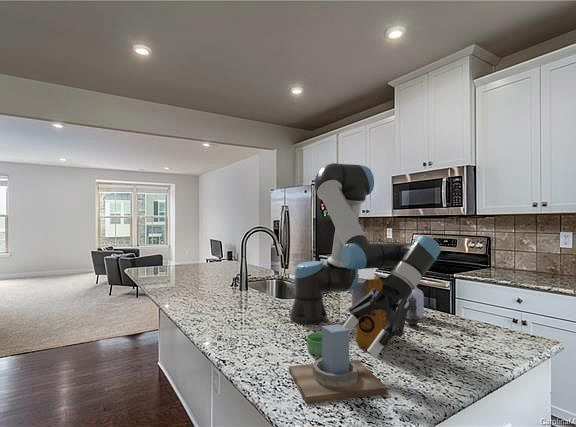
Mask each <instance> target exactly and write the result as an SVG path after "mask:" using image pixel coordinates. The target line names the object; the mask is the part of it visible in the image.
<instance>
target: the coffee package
mask: <svg viewBox="0 0 576 427" xmlns="http://www.w3.org/2000/svg"><path fill="white" fill-rule="evenodd" d="M365 279H366V281H365V282H364V283H365V284H368V288H367V290H366V293H365V296H366V295H367V294H368V293H369V292H370V291H371V290H372V289H373V288H374V289H375V290H376V291H377V292H380V291H381V290H382V283H383V281H382V279H381V277H380V276H379V275H375V276H374V278H372V279H371V278H370V279H369V278H365ZM375 303H376V302H375ZM384 327H386V311H384V310H380V309H379V310H374V311H372V312H370V313H368V314H366V315H364V316H362V317H360V318H359V321H358V323H357V324H356V336H355V337H356V338H355V342H356V345H357V346H358V347H360V348H364V349H367V350H368V348H369V347H370V346H371V344H372V343H373V342H374V340H375V339H376V337H377V336H378V335H379V333H380V332H381V330H382V329H384V330H385V328H384ZM385 331H386V330H385ZM390 341H391V340H390ZM390 341H389V342H388V344H387V345H386V346H385V347H388V346H389V344H390ZM385 347H384V348H385Z"/></svg>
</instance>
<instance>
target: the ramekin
mask: <svg viewBox="0 0 576 427" xmlns="http://www.w3.org/2000/svg"><path fill="white" fill-rule="evenodd" d="M305 340H306V342H307V351H308V353H310V354H311V355H314V356H321V357H322V332H311V333H309V334H307V335H306V337H305Z"/></svg>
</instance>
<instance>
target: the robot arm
mask: <svg viewBox="0 0 576 427" xmlns="http://www.w3.org/2000/svg"><path fill="white" fill-rule="evenodd" d="M313 185H314V186H313V187H314V191H315V194H316V195H317V197H318V199H320V200H321V201H323V204H324V206H325V208H326V211H327V213H328V215H329V216H330V219H331V221H332V223H333V226H334V228H335V229H334V230H335V231H334V235H333V241H332V242H333V244H332V250H331V255H330V256H329V257H328V258H327V259H326V260H327V261H326V264H324V262H322V261H320V260H315V261H314V260H313V261H312V260H311V261H305V262H300V263H298V264H296V266H295V268H294V275H293V276H294V301H293V303H292V304H293V305H292V308H291V310H290V314H289V316H290V317H289V318H290V321H292V322H294V323H297V324H302V325H318V324H319V325H320V324H323V323H325V322H327V321H328V315H327V314H328V313H327V311H326V307H325V304H324V300H323V297H324V294H327V293H340V292H341V293H345V292H349V291H352V289H354V288H355V287H356V285H357V283H358V279H360V278H359V277H360V276H359V270H363V269H369V270H370V269H389V268H390V269H391V271H390V274H388V275H387V276H386V278H385V279H384V281H382V290H381V291H380V292H377V291H376V290H375V289H374V288H373V289H372V290H371V291H370V292H369V293H368V294H367V295H366V296H364V297H363V298H362V299H360V300H359V301H358V302H356V303H355V304H354V305H352V304H351V306H350V307H349V308H348V309H347V310H348V311H349V313H350V315H349V316H348V317H347V319H346V320H345V321H344V324H343V325H342V326H343V327H345V328H347V329H349V334H351V332H352V331H353V329H354V328H355V327H356V326H357V323H358V321H359V318H360V317H362V316H364V315H366V314H368V313H370V312H372V311H374V310H379V309H380V310H384V311H386V327H384V328H385V330H386V331H385V330H384V329H382V330H381V332H380V333H379V335H378V336H377V337H376V339H375V340H374V342H373V343H372V344H371V346H370V347H369V348H368V349H367V350H366V351H367V352H368V353H369V354H370V355H371V356H372V357H373V358H374V359H376V358H377V357H378V356H379V354H380V353H381V351H382V350H383V348H385V346H386V345H387V344H388V342H389V341H391V340H392V338H395V337H398V338H401V337H403V334H404V330H405V325H406V316H407V312H408V310H409V308H410V306H411V304H410V303H409V302H408V301H407V299H408V297H409V296H410V294H411V293H412V290H414V289H415V287H417V286H418V285H419V283H420V282H421V280H422V279H423V277H425V275H426V273H427V272H428V271H429V270H430V268H431V266H433V264H434V263H435V262H436V261H437V258H438V256H439V255H440V253H441V252H442V251H441V250H442V249H441V246H440V244H439V243H438V242H437V241H436V239H434V238H432V237H431V236H428V235H424V234H420V235H418V236H417V237H416V238H415V239H414V240H413V242H411V243H410V242H407V243H402V242H401V243H400V242H398V243H397V242H388V243H387V242H385V243H370V240H369V239H368V237H367V236H366V234H365V231H363V229H362V226H361V224H360V223H359V216H360V211H361V205H362V204H363V203H364V202H365V201H366V199H367V198H366V196H370V195H371V194H372V192H373V191H374V188H375V179H374V174H373V172H372V170H371V169H370V168H369V167H368V166H366V165H361V164H352V163H347V164H346V163H337V162H336V163H334V162H333V163H328V164H326V165H324V166H322V168H320V170H319V171H318V172H317V173H316V175H315V178H314V184H313ZM375 302H376V303H375ZM389 343H390V342H389ZM388 345H389V344H388ZM386 347H387V346H386Z"/></svg>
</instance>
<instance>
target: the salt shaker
mask: <svg viewBox="0 0 576 427" xmlns="http://www.w3.org/2000/svg"><path fill="white" fill-rule="evenodd" d="M408 302H409V303H410V304H411V306H410V308H409V310H408V314H407V316H406V321H405V325H404V327H406V328H409V329H419V328H420V325H419V324H418V323H419V322H420V320H421V319H420V317H419V316H417V313H416V309H417V307H416V299H415V298H413V295H412V297H411V298H409V299H408Z"/></svg>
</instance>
